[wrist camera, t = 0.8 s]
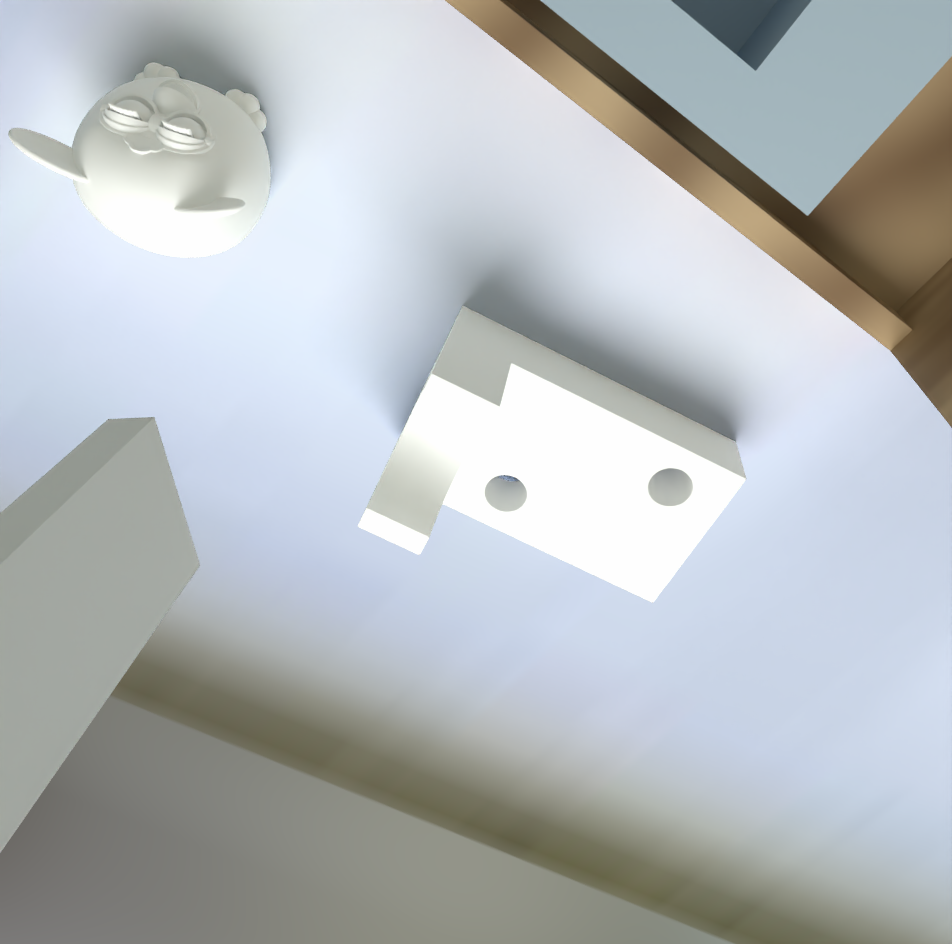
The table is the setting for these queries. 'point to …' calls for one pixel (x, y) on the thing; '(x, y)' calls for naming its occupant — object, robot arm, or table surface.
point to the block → (777, 73)
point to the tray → (768, 212)
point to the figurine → (166, 163)
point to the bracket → (553, 461)
